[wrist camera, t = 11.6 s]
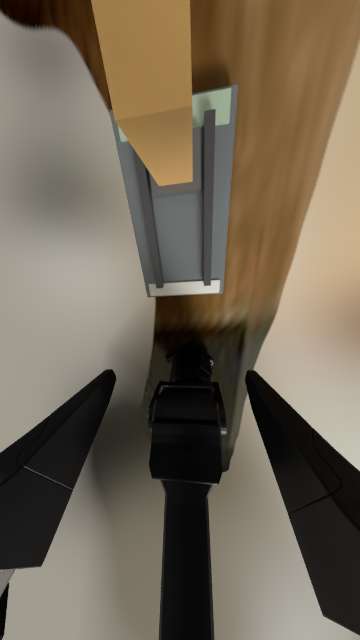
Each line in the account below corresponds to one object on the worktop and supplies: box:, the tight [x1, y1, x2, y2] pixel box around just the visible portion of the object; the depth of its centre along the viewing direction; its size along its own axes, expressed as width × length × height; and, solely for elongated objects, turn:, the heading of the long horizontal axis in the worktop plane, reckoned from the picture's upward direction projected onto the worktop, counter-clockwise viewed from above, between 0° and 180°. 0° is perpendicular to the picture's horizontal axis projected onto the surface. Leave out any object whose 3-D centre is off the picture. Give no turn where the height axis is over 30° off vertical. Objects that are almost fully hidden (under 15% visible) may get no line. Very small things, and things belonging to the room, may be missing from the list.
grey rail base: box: [110, 84, 238, 297], centre depth 15 cm, size 16×10×3 cm, turn 5°
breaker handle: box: [91, 0, 201, 198], centre depth 9 cm, size 4×4×9 cm
